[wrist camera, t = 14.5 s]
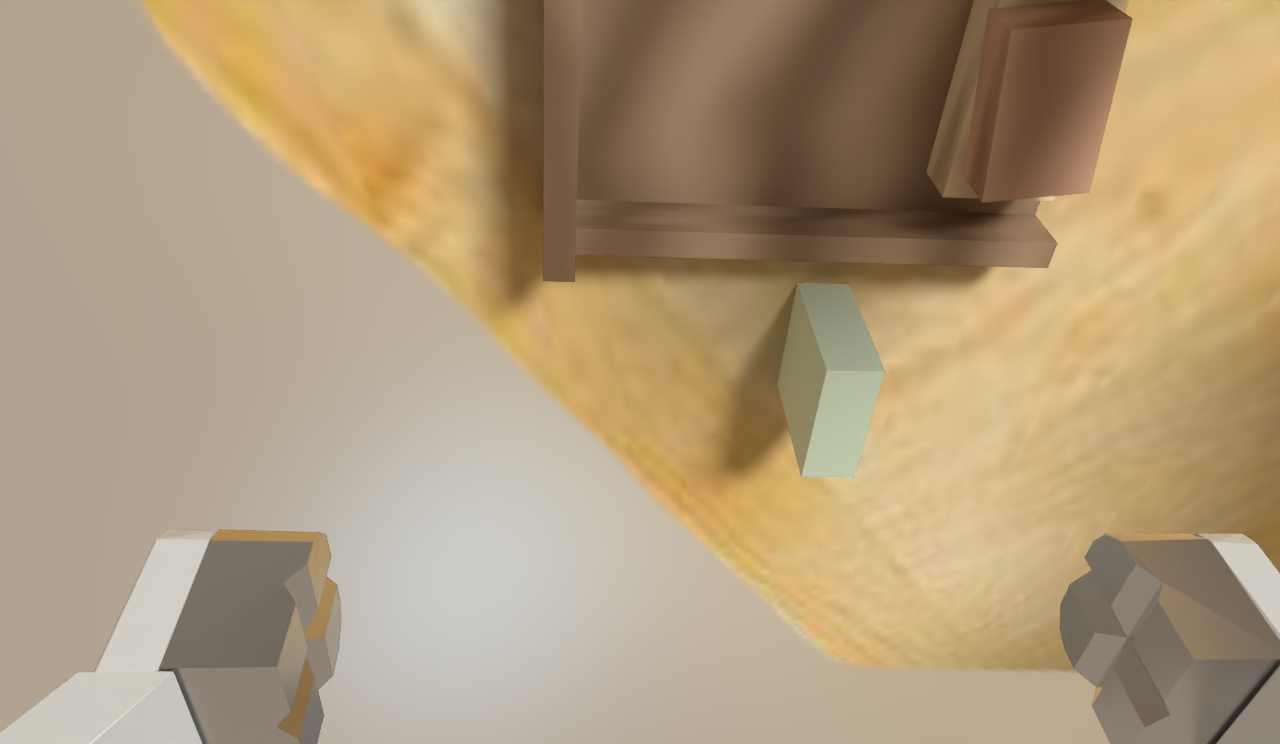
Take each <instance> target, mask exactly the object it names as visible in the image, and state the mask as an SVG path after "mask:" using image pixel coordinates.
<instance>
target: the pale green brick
mask: <svg viewBox="0 0 1280 744" xmlns="http://www.w3.org/2000/svg"><path fill="white" fill-rule="evenodd" d="M884 374H885V370H884V368H883V365H882V363H881V360H880V358H879V356H878V353H877V351H876V348H875V346H874V344H873V341H872V339H871V336H870V334H869V332H868V329H867V327H866V324H865V322H864V320H863V317H862V315H861V312H860V310H859V308H858V305H857V303H856V300H855V298H854V296H853V293H852V291H851V288H850V286H849V284H834V283H797V286H796V291H795V296H794V301H793V306H792V311H791V316H790V321H789V326H788V331H787V336H786V341H785V346H784V351H783V356H782V361H781V366H780V371H779V376H778V381H777V387H778V391H779V395H780V398H781V402H782V406H783V410H784V413H785V417H786V421H787V425H788V429H789V432H790V436H791V440H792V444H793V447H794V451H795V455H796V459H797V462H798V466H799V470H800V474H801V477H835V478H855V474H856V471H857V468H858V464H859V461H860V457H861V454H862V450H863V447H864V443H865V440H866V436H867V433H868V429H869V426H870V422H871V419H872V415H873V412H874V408H875V405H876V401H877V398H878V394H879V391H880V388H881V384H882V381H883V377H884Z"/></svg>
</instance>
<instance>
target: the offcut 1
mask: <svg viewBox="0 0 1280 744" xmlns="http://www.w3.org/2000/svg"><path fill="white" fill-rule="evenodd" d="M1067 1H1078V0H974V1H973V5H972V8H971V12H970V16H969V19H968V23H967V27H966V30H965V34H964V37H963V41H962V45H961V48H960V52H959V56H958V59H957V63H956V66H955V70H954V74H953V77H952V81H951V85H950V88H949V92H948V95H947V99H946V103H945V106H944V110H943V114H942V117H941V121H940V124H939V128H938V132H937V135H936V139H935V143H934V146H933V150H932V153H931V157H930V161H929V164H928V168H927V174H928V176H929V177H930V179H931V180H932V182H933V183H934V185H935V186H936V188H937V189H938V191H939V193H940V194H941V196H942V197H950V198H978V196H977V195H976V193H975V192H974V191H973V189H972V188H971V186H970V185H969V184H968V182H967V181H966V179H965V178H964V177H963V172H964V166H965V159H966V153H967V146H968V140H969V133H970V127H971V120H972V114H973V107H974V101H975V94H976V88H977V81H978V74H979V68H980V61H981V55H982V48H983V42H984V35H985V29H986V22H987V16H988V9H992V8H1003V7H1014V6H1024V5H1035V4H1046V3H1056V2H1067ZM1106 1H1108V2H1109V3H1111V4H1112V5H1114V6H1115V7H1116V8H1118V9H1119V10H1121V11H1122V12H1124V13H1125V10H1126V7H1127V5H1128V2H1129V0H1106ZM1055 197H1056V196H1049V197H1038V198H1027V199H1017V200H1038V201H1054V199H1055Z"/></svg>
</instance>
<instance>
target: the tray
mask: <svg viewBox="0 0 1280 744" xmlns="http://www.w3.org/2000/svg"><path fill="white" fill-rule="evenodd" d="M973 1H974V0H544V189H543V281H559V282H575V255H598V256H634V257H670V258H706V259H742V260H778V261H814V262H849V263H885V264H921V265H957V266H993V267H1029V268H1048V266H1049V263H1050V261H1051V258H1052V256H1053V253H1054V251H1055V248H1056V245H1057V242H1056V241H1055V239H1054V238H1053V237H1052V236H1051V234H1050V233H1049V232H1048V231H1047V229H1046V228H1045V227H1044V225H1043V224H1042V223H1041V222H1040V220H1039V219H1038V218H1037V217H1036V215H1035V213H1036V211H1037V208H1038V205H1039V203H1040V201H1038V200H1006V201H995V202H984V203H982V202H981V201H980V199H979V198H950V197H942V196H941V194H940V193H939V191H938V189H937V188H936V186H935V185H934V183H933V182H932V180H931V179H930V177H929V176H928V174H927V168H928V164H929V161H930V157H931V153H932V150H933V146H934V143H935V139H936V135H937V132H938V128H939V124H940V121H941V117H942V114H943V110H944V106H945V103H946V99H947V95H948V92H949V88H950V85H951V81H952V77H953V74H954V70H955V66H956V63H957V59H958V56H959V52H960V48H961V45H962V41H963V37H964V34H965V30H966V27H967V23H968V19H969V16H970V12H971V8H972V5H973Z"/></svg>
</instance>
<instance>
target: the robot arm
mask: <svg viewBox="0 0 1280 744" xmlns="http://www.w3.org/2000/svg"><path fill="white" fill-rule="evenodd" d="M1085 559H1086V561H1087V563H1088V565H1089V567H1090V569H1091V571H1089V572H1088V573H1086V574H1085V575H1083V576H1082V577H1080V578H1079V579H1077V580H1076V581H1074V582H1073V583H1071V584H1070V586H1069V588H1068V590H1067V592H1066V594H1065V596H1064V598H1063V601H1062V603H1061V607H1060V631H1061V636H1062V640H1063V644H1064V648H1065V650H1066V652H1067V655H1068V657H1069V659H1070V661H1071V663H1072V665H1073V668H1074V669H1075V670H1076V671H1077V672H1079V673H1080V674H1081V675H1082V676H1084V677H1085V678H1086V679H1087V680H1089V681H1090V682H1091V683H1092V684H1094V685H1095V686H1096V691H1095V695H1094V699H1093V703H1092V707H1093V709H1094V711H1095V713H1096V715H1097V717H1098V719H1099V721H1100V723H1101V725H1102V727H1103V730H1104V731H1105V734H1106V736H1107V738H1108V739H1109V741H1110V744H1280V573H1279V572H1278V571H1277V569H1276V568H1275V567H1274V565H1273V564H1272V563H1271V562H1270V560H1269V559H1268V558H1267V556H1266V555H1265V554H1264V552H1263V551H1262V550H1261V548H1260V547H1259V546H1258V544H1256V543H1255V542H1254V541H1253V540H1251V539H1250V538H1248V537H1247V536H1245V535H1244V534H1189V533H1145V534H1104V535H1103V536H1101V537H1100V538H1098V539H1096V540H1095V541H1093V543H1092V545H1091V547H1090V549H1089V550H1088V552H1087V554H1086V556H1085ZM330 560H331V552H330V548H329V544H328V540H327V536H326V534H324V533H320V532H290V531H253V530H193V529H191V530H190V529H167V530H166V531H165V532H164V533H163V534H162V535H161V536H160V537H159V538H158V539H157V540H156V541H155V542H154V544H153V546H152V548H151V550H150V552H149V554H148V556H147V558H146V561H145V563H144V565H143V567H142V569H141V571H140V573H139V576H138V578H137V580H136V582H135V584H134V586H133V588H132V591H131V593H130V595H129V597H128V599H127V601H126V603H125V606H124V608H123V610H122V612H121V614H120V616H119V619H118V621H117V623H116V625H115V627H114V629H113V631H112V634H111V636H110V638H109V640H108V642H107V644H106V646H105V649H104V651H103V653H102V655H101V657H100V659H99V661H98V664H97V666H96V668H95V670H94V671H92V672H77V673H75V674H74V675H73V676H72V677H70V678H69V679H68V680H66V681H65V682H64V683H63V684H61V685H60V686H59V687H57V689H55V690H54V691H52V692H51V693H50V694H49V695H47V696H46V697H45V698H43V699H42V700H41V701H40V702H38V703H37V704H36V705H35V706H33V707H32V708H31V709H30V710H28V711H27V712H26V713H24V714H23V715H22V716H21V717H19V718H18V719H17V720H16V721H14V722H13V723H12V724H10V725H9V726H8V727H7V728H5V729H4V730H3V731H1V732H0V744H317V742H318V738H319V734H320V730H321V725H322V721H323V717H324V713H323V709H322V705H321V701H320V696H319V692H318V690H319V689H320V688H321V687H322V686H323V685H324V684H325V683H326V682H327V681H328V680H329V679H330V678H331V677H332V676H333V674H334V669H335V664H336V660H337V655H338V650H339V640H340V630H341V605H340V597H339V591H338V586H337V584H336V583H334V582H333V581H332V580H330V579H329V578H328V577H327V576H326V575H327V571H328V567H329V563H330Z"/></svg>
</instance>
